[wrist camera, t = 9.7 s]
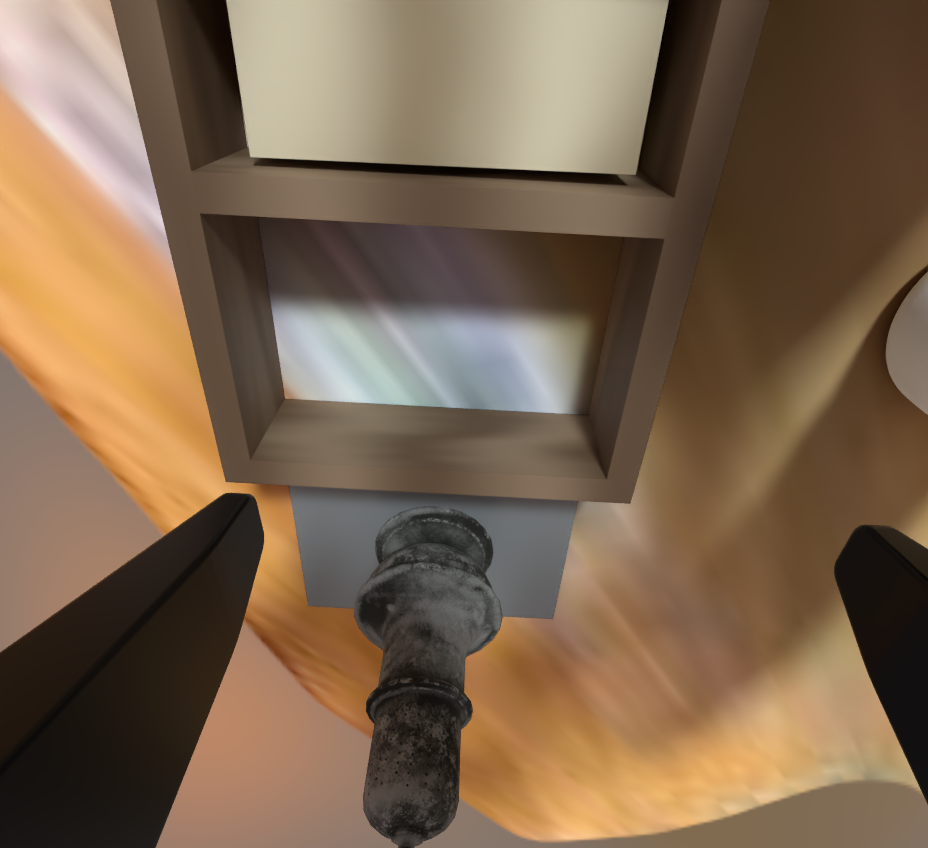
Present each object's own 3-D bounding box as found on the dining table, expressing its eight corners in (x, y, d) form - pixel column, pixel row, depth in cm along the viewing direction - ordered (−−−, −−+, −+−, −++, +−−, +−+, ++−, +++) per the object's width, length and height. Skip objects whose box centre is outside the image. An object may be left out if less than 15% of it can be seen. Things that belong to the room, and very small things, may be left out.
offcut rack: (729, -90, 14) (806, -132, 11) (608, 437, 23) (630, 503, 20) (166, -122, 14) (68, -175, 11) (263, 418, 23) (226, 481, 20)
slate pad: (577, 470, 24) (580, 485, 23) (550, 602, 29) (552, 618, 28) (293, 454, 24) (286, 469, 23) (313, 589, 29) (308, 606, 28)
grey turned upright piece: (514, 581, 26) (533, 907, 16) (395, 603, 27) (346, 922, 17) (479, 487, 23) (478, 817, 13) (347, 516, 24) (254, 841, 14)
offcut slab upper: (651, -12, 14) (672, -21, 12) (621, 163, 16) (635, 174, 15) (247, -31, 14) (219, -42, 12) (271, 147, 16) (250, 157, 15)
